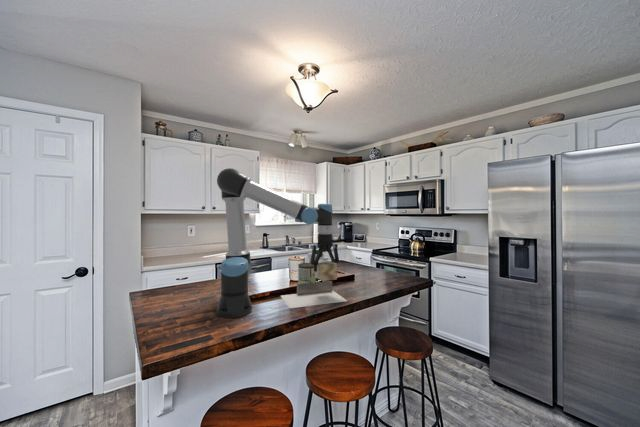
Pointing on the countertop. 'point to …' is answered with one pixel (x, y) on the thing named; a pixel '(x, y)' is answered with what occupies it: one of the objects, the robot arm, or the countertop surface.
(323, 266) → the beige rounded block
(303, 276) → the coffee can
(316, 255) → the milk carton
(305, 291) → the ledge rail
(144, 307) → the countertop surface
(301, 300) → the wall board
